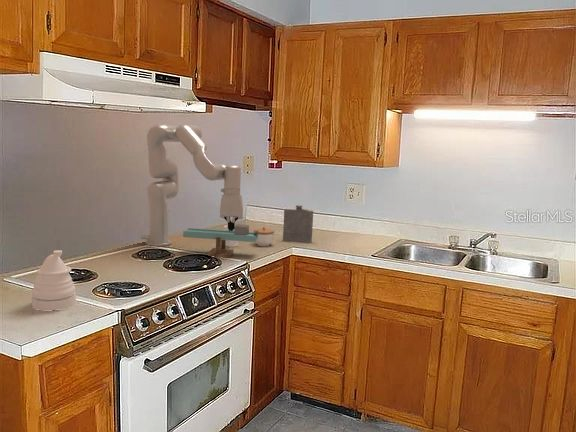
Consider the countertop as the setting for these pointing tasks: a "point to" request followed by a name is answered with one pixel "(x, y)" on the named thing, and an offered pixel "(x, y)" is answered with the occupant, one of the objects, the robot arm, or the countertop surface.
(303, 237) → the hip flask
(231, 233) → the beam
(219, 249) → the stand
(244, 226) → the block
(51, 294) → the honey pot
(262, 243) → the lidded jar
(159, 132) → the robot arm
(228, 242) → the white cup
